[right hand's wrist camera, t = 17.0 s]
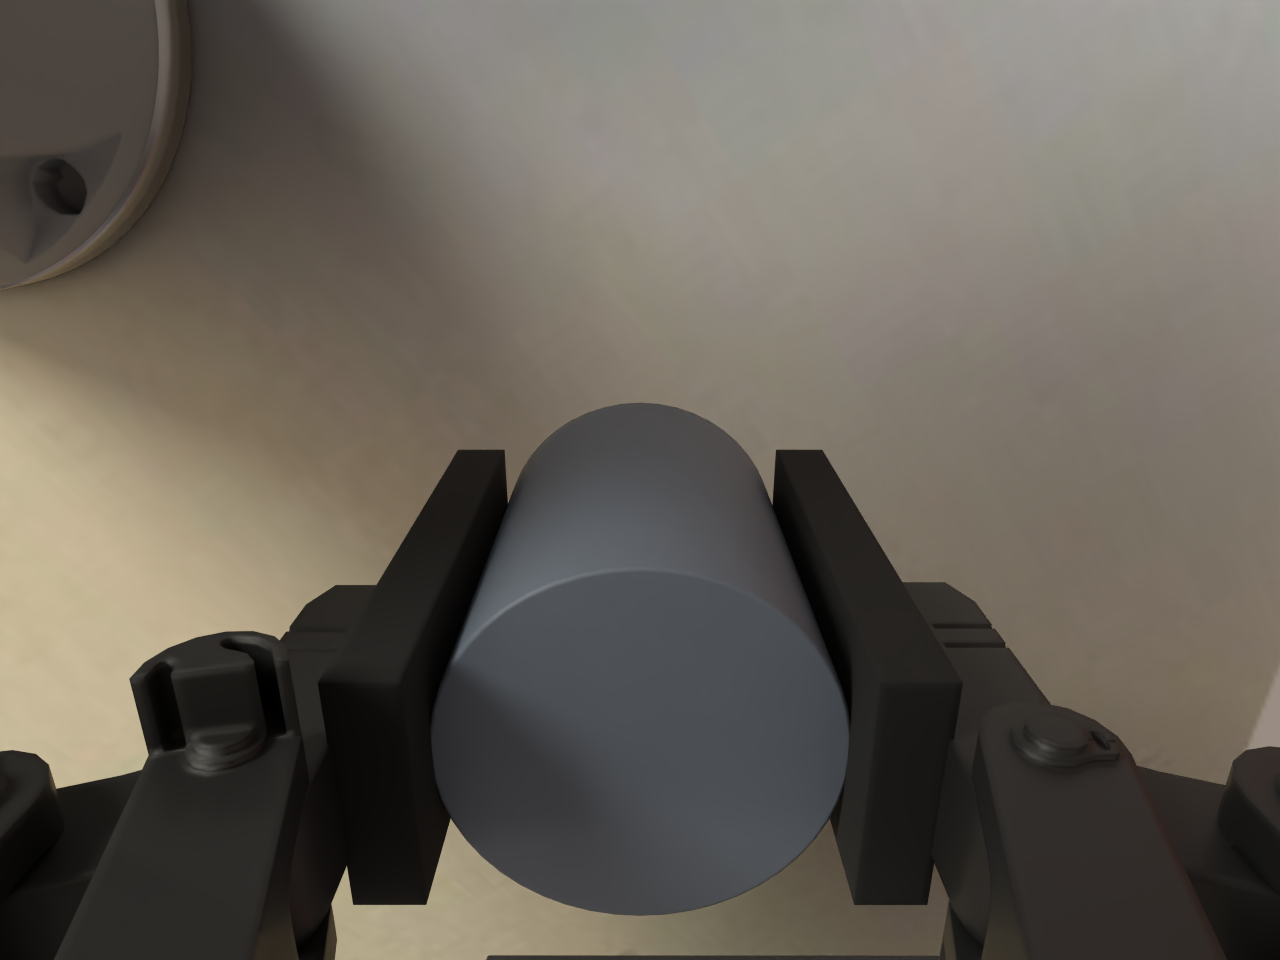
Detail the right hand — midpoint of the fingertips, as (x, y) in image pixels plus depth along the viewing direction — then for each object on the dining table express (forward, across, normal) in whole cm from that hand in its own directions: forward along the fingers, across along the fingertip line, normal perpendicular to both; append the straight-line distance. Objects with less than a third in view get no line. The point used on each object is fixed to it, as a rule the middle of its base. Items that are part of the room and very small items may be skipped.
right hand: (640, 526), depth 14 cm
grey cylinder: (0, 0, 0) cm, 0 cm away
